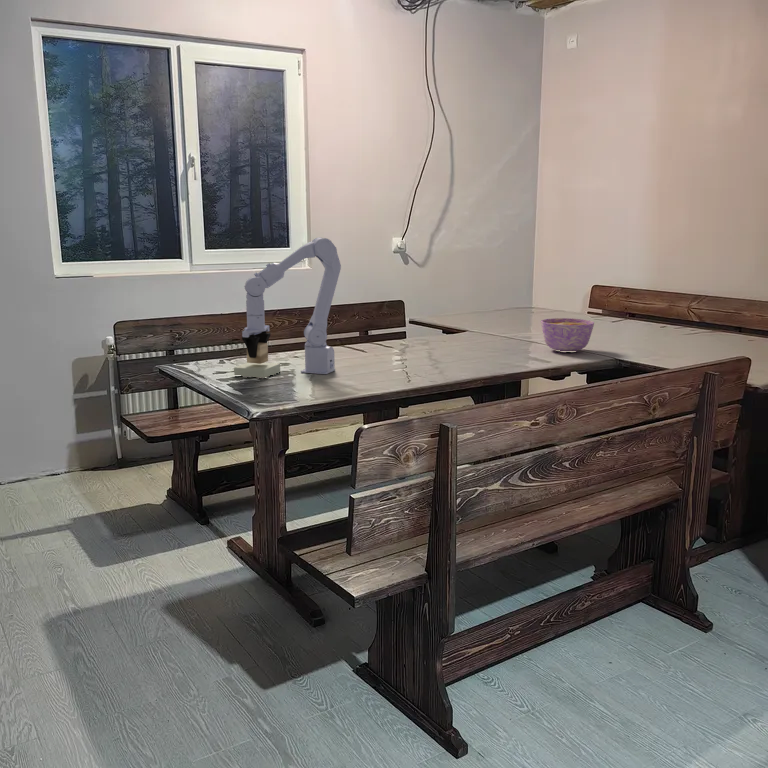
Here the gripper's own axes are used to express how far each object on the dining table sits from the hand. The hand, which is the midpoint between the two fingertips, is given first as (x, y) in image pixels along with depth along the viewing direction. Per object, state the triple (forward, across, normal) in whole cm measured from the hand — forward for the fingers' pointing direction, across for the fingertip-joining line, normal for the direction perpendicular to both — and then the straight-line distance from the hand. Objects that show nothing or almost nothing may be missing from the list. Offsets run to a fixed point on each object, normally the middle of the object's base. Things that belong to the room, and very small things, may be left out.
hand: (257, 356), depth 251 cm
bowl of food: (+6, -80, +90) cm, 121 cm away
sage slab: (+6, 0, 0) cm, 6 cm away
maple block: (+2, 0, 0) cm, 2 cm away
